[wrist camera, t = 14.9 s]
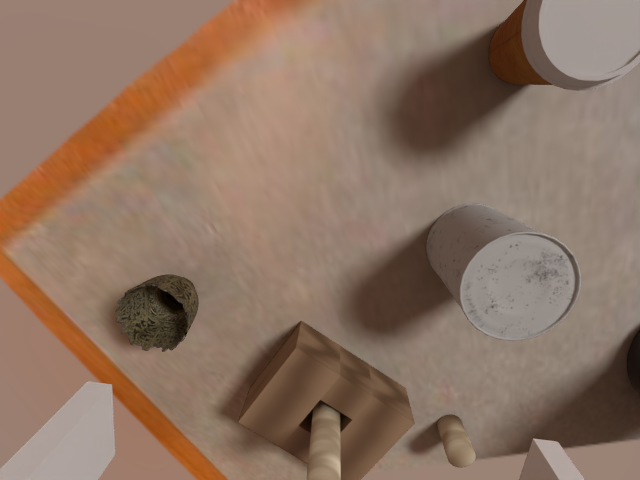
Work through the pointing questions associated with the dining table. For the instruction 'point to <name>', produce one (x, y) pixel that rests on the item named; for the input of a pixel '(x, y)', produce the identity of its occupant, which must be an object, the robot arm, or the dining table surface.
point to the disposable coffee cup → (567, 43)
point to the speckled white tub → (503, 272)
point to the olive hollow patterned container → (158, 312)
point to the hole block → (327, 401)
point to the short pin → (455, 441)
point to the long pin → (324, 444)
